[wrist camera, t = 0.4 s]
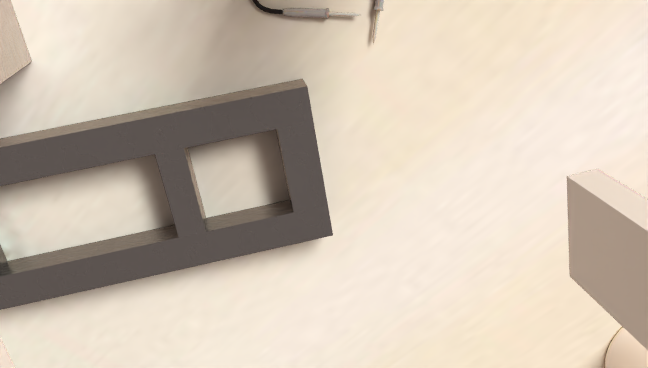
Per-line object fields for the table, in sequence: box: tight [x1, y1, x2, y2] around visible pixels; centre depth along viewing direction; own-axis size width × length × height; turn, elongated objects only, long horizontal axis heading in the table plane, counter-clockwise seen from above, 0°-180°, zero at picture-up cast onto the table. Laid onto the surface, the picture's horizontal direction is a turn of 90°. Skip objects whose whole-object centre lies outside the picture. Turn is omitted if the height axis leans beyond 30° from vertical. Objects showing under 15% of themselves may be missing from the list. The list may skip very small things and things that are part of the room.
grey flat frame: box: [0, 79, 333, 310], centre depth 38 cm, size 10×22×2 cm, turn 99°
